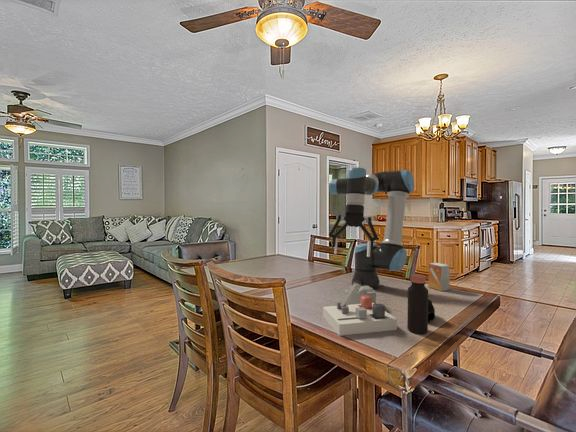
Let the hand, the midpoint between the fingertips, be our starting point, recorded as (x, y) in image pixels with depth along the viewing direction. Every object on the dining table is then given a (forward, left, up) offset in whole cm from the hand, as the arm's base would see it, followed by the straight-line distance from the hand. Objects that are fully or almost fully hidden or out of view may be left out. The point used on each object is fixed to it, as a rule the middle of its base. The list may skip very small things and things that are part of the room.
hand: (351, 255), depth 127 cm
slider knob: (+3, +16, -20) cm, 26 cm away
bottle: (-16, +22, -24) cm, 36 cm away
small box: (-59, -22, -24) cm, 67 cm away
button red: (-4, +6, -22) cm, 23 cm away
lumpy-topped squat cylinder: (-7, -7, -24) cm, 26 cm away
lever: (+7, +8, -19) cm, 22 cm away
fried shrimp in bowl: (-26, +9, -24) cm, 37 cm away
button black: (-4, +16, -22) cm, 27 cm away
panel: (+2, +11, -24) cm, 27 cm away
